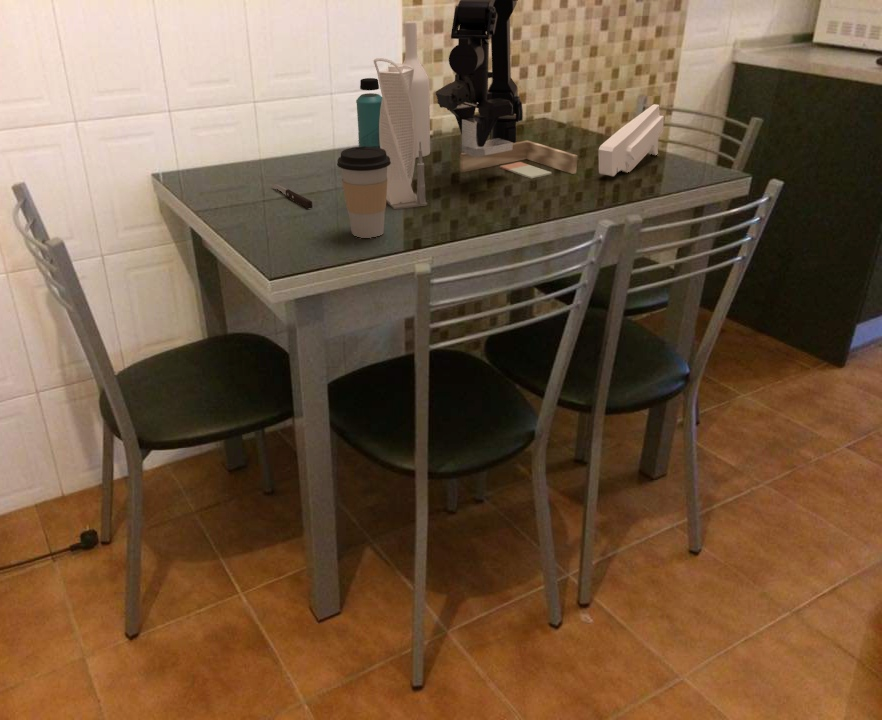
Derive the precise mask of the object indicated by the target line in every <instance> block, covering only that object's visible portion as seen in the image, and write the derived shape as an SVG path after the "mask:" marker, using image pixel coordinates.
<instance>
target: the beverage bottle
mask: <svg viewBox="0 0 882 720" xmlns="http://www.w3.org/2000/svg"><path fill="white" fill-rule="evenodd" d="M359 82H360V83H359V84H360V85H359V86H360V87H359V90H361V91H377V90H379V89H380V84H379V79H378V78H376V77H375V78H373V77H368V78H361V79H360V81H359ZM381 102H382V95H381V94H379V93H375V92H374V93H372V92H371V93H370V92H369V93H363V94H361V95H359V96H358V97H357V99H356V102H355V103H356V112H357V113H356V114H357V115H356V117H357V127H358V128H357V129H358V130H357V131H358V132H357V133H358V134H357V137H358V140H357V143H358V147H377V148H380V138H379V120H380V109H381Z"/></svg>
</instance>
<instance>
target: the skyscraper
mask: <svg viewBox="0 0 882 720" xmlns="http://www.w3.org/2000/svg"><path fill="white" fill-rule="evenodd" d="M377 62H385V63H389V65H388V67H387V68H386V69H383V70H379V67H378V63H377ZM373 64H374V68H375V69H376V75H377V77H378V78H377V79H378V84H379V89H380V94H381V97H382V102H381V109H380V120H379V138H380V148H381V149H384V150H385V151H386V155H387V156H389V158H390V162H391V164H390V165H389V166H387V196H386V204H388V206H390V207H391V208H392V210H401V209H411V208H416V207H417V208H418V207H423V206H424V207H425V206H428V202H426V201H427V199H426V183H425V181H426V180H425V163H424V162H423V161H424V160H423V157H422V150H421V141H419V148H420V150H419V151H418V152H419V157H418V162H417V164H416V148H417V131H416V121H415V114H414V109H413V105H412V101H411V98H410V92H411V86H412V80H413V74H414V68H413V67H412V66H410V65H406V64H403V63H396V62H394V61H392V60H390V59H388V58H384V57H383V58H382V57H381V58H374V59H373ZM403 67H408V68H411V69H403ZM415 166H416V168H417V176H416V177H417V179H416V180H417V182H416V183H417V184H416V189H417V191H416V192H417V193H414V191H413V187H412V181H413V178H414V171H415Z"/></svg>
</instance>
